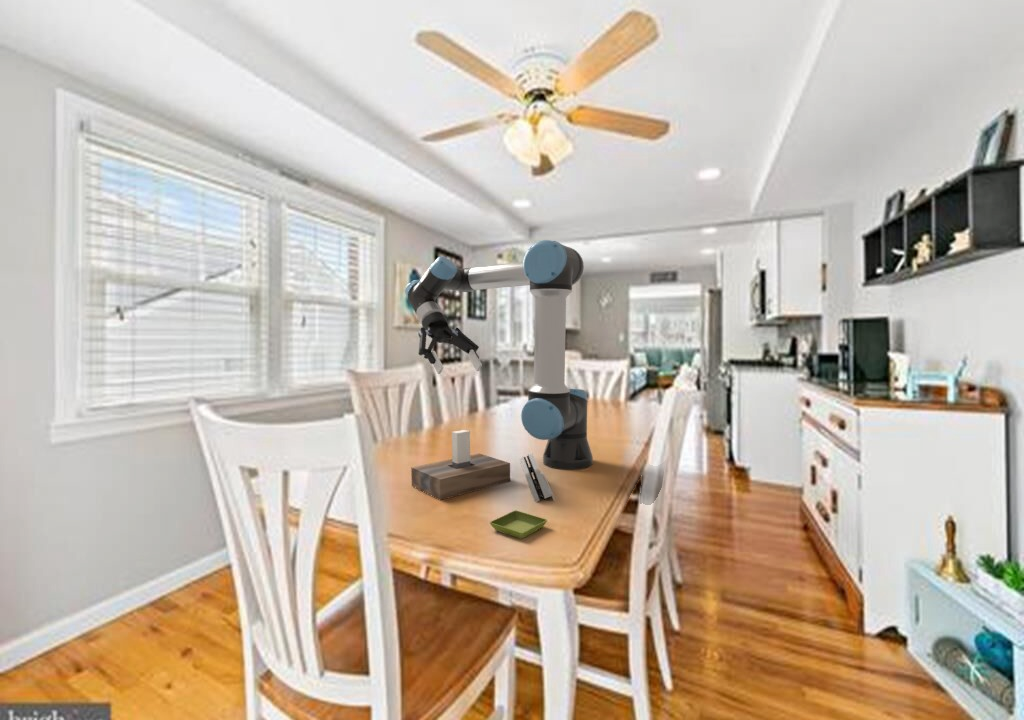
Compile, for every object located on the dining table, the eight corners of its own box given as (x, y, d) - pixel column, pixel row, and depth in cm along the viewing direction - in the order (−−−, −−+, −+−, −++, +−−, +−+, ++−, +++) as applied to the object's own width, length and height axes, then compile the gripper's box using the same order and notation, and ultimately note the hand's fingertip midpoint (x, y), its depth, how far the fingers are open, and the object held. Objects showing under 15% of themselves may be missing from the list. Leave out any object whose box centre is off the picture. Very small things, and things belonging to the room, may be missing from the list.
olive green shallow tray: (548, 529, 98) (548, 519, 98) (522, 544, 91) (522, 533, 91) (515, 519, 104) (515, 509, 103) (488, 532, 97) (488, 522, 97)
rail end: (452, 480, 127) (451, 431, 126) (465, 477, 129) (464, 429, 129) (457, 482, 125) (457, 433, 124) (470, 479, 128) (469, 431, 127)
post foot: (411, 486, 125) (411, 467, 125) (479, 470, 140) (479, 453, 139) (440, 499, 115) (439, 479, 114) (510, 481, 129) (510, 463, 129)
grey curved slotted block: (556, 501, 114) (541, 462, 113) (537, 508, 113) (522, 469, 113) (545, 479, 130) (533, 445, 129) (529, 486, 130) (517, 452, 129)
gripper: (460, 328, 160) (489, 375, 150) (392, 328, 144) (418, 380, 133) (469, 311, 156) (499, 358, 145) (400, 309, 140) (428, 362, 129)
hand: (460, 369), depth 139 cm, fingers open, 13 cm apart
